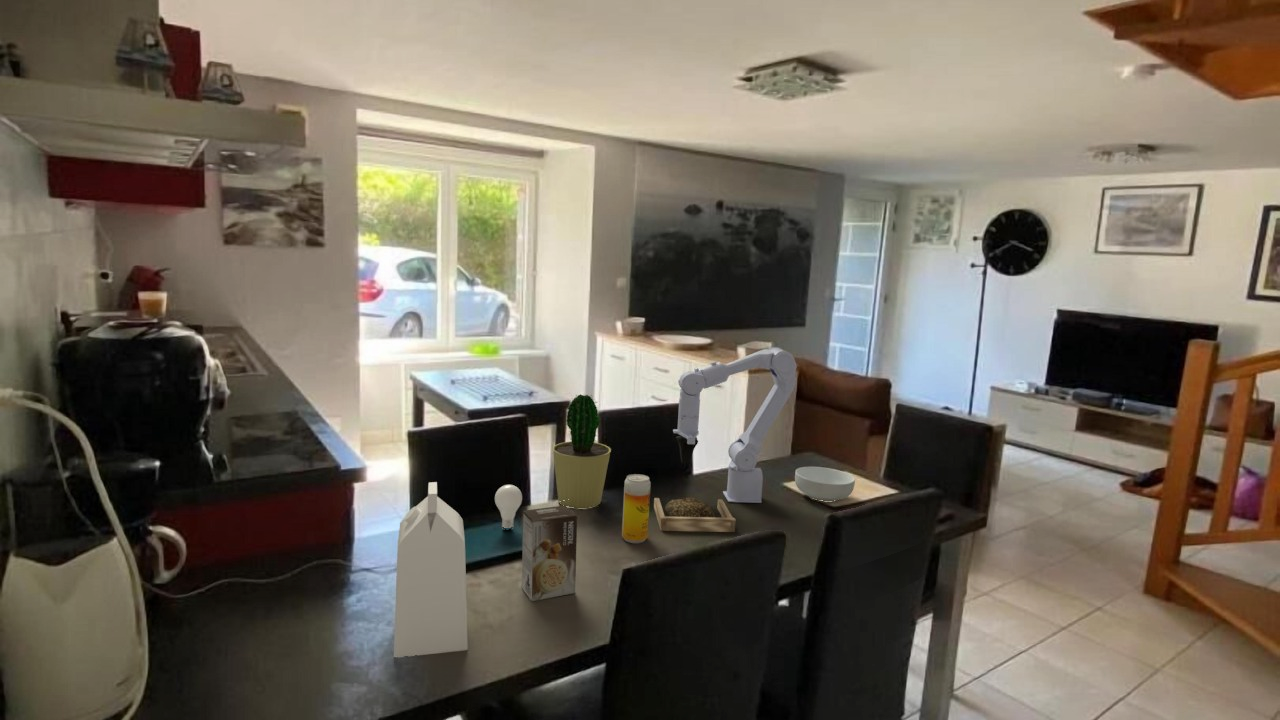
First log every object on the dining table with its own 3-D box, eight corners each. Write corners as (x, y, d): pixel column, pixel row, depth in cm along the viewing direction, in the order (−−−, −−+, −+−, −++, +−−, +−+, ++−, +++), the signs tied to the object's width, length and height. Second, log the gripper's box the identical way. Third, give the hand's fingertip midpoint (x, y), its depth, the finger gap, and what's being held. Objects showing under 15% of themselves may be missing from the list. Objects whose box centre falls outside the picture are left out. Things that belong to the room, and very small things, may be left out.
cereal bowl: (860, 510, 190) (862, 485, 189) (800, 506, 191) (802, 482, 189) (843, 489, 207) (845, 467, 206) (788, 486, 207) (790, 464, 206)
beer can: (647, 544, 159) (650, 482, 157) (621, 543, 159) (624, 481, 157) (647, 534, 165) (651, 474, 163) (622, 533, 165) (625, 472, 163)
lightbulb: (488, 531, 162) (489, 486, 160) (503, 522, 168) (504, 479, 166) (511, 537, 159) (513, 491, 158) (526, 527, 165) (527, 483, 164)
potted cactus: (619, 500, 187) (624, 392, 183) (586, 517, 174) (591, 401, 170) (573, 488, 195) (578, 384, 191) (538, 503, 182) (542, 392, 178)
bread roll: (671, 525, 173) (672, 506, 172) (661, 507, 185) (662, 489, 184) (720, 524, 175) (721, 505, 174) (707, 507, 187) (708, 489, 186)
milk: (467, 649, 113) (470, 498, 110) (393, 658, 110) (393, 502, 106) (464, 613, 125) (466, 475, 121) (397, 619, 121) (397, 477, 118)
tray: (721, 508, 186) (722, 497, 185) (734, 532, 170) (735, 519, 169) (653, 506, 184) (654, 495, 184) (660, 530, 168) (661, 518, 168)
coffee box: (563, 579, 140) (567, 504, 138) (575, 594, 134) (579, 515, 132) (520, 587, 136) (522, 509, 133) (530, 602, 130) (533, 521, 128)
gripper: (671, 408, 197) (668, 454, 199) (677, 420, 182) (674, 470, 184) (695, 409, 197) (692, 455, 199) (704, 421, 183) (700, 470, 185)
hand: (685, 462), depth 192 cm, fingers closed
